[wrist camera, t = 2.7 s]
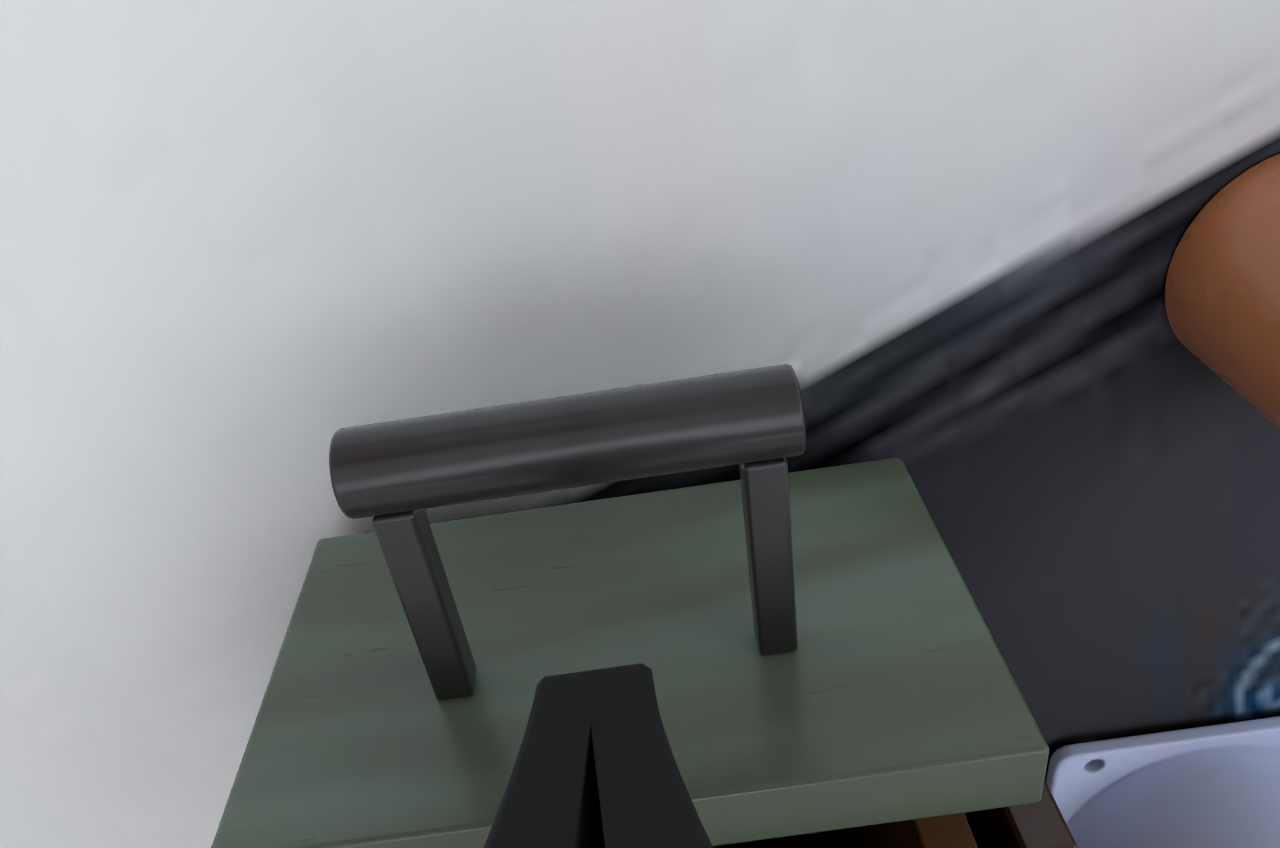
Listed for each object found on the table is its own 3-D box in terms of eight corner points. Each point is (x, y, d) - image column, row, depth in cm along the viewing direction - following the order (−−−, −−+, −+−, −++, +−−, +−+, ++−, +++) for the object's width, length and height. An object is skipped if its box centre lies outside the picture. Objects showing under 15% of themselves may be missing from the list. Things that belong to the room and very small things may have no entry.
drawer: (226, 318, 16) (29, 605, 10) (907, 217, 15) (1103, 452, 10) (465, 895, 25) (434, 1212, 19) (891, 838, 25) (986, 1142, 19)
